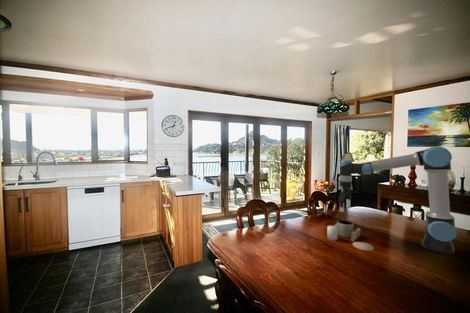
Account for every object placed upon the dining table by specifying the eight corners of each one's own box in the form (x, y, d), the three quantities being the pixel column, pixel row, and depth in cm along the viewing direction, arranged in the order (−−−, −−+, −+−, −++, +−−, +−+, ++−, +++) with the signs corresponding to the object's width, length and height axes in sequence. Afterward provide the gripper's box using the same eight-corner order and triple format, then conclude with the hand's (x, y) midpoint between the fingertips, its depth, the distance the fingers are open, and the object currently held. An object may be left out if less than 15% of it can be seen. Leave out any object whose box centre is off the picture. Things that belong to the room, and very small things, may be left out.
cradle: (360, 235, 155) (360, 228, 155) (354, 241, 146) (354, 233, 145) (336, 229, 167) (336, 223, 167) (329, 234, 157) (329, 227, 157)
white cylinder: (339, 238, 150) (339, 227, 150) (335, 241, 145) (335, 229, 145) (329, 235, 155) (329, 224, 155) (325, 238, 150) (325, 227, 150)
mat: (376, 246, 137) (376, 245, 137) (371, 252, 129) (371, 252, 129) (355, 241, 146) (355, 240, 146) (350, 246, 137) (350, 245, 137)
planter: (351, 239, 149) (352, 225, 148) (335, 235, 155) (335, 222, 155) (354, 234, 157) (354, 221, 157) (338, 231, 164) (338, 218, 164)
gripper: (346, 179, 167) (345, 205, 168) (333, 182, 150) (333, 212, 150) (356, 180, 162) (356, 207, 162) (345, 183, 144) (344, 214, 145)
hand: (345, 209), depth 156 cm, fingers open, 13 cm apart
